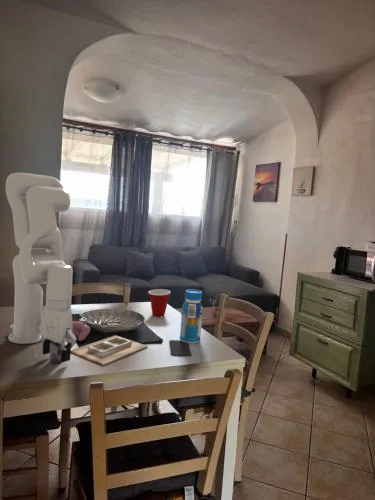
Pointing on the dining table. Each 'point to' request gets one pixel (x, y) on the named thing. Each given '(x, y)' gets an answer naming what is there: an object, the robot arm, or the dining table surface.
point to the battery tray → (108, 350)
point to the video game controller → (82, 327)
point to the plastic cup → (159, 301)
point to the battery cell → (55, 353)
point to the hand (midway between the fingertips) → (56, 356)
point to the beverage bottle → (191, 317)
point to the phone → (179, 348)
